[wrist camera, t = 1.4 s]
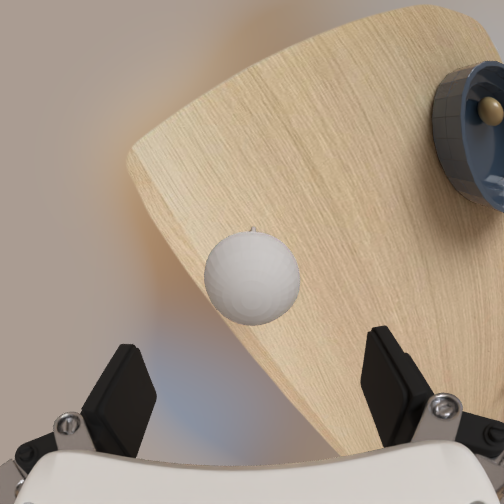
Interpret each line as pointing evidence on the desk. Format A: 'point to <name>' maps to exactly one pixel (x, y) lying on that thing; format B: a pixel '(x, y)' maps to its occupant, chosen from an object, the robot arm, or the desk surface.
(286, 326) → the desk surface
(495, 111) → the bead
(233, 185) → the desk surface
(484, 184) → the bowl
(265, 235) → the lollipop
